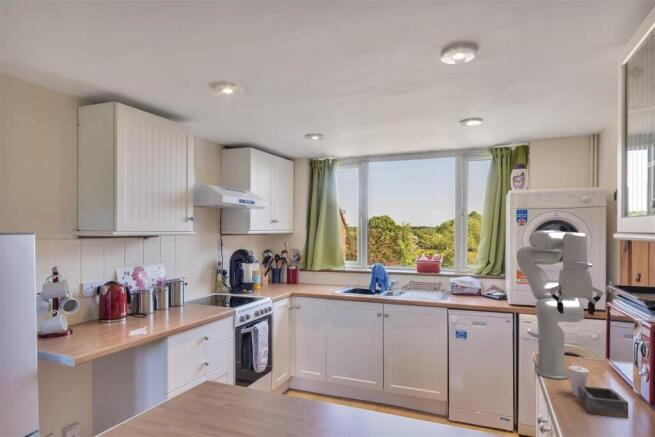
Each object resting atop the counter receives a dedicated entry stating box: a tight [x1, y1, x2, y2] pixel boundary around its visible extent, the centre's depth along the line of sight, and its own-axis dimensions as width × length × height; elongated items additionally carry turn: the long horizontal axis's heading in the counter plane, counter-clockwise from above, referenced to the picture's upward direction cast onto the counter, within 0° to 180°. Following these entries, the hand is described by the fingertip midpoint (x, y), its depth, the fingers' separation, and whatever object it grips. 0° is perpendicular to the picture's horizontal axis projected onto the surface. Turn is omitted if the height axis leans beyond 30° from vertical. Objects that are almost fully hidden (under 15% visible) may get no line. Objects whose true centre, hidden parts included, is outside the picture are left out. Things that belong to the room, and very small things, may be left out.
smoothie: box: [567, 356, 590, 398], centre depth 139 cm, size 6×6×14 cm
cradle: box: [577, 385, 629, 419], centre depth 129 cm, size 11×11×5 cm
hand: (575, 313), depth 138 cm, fingers open, 9 cm apart
